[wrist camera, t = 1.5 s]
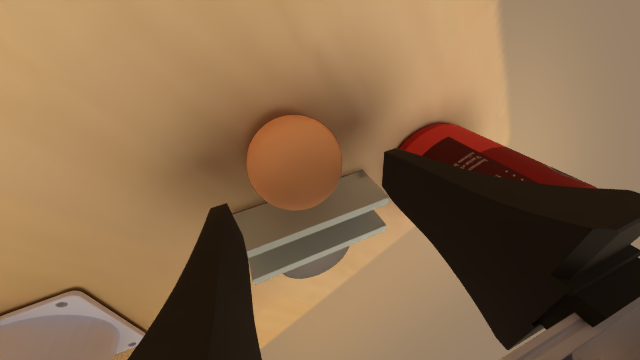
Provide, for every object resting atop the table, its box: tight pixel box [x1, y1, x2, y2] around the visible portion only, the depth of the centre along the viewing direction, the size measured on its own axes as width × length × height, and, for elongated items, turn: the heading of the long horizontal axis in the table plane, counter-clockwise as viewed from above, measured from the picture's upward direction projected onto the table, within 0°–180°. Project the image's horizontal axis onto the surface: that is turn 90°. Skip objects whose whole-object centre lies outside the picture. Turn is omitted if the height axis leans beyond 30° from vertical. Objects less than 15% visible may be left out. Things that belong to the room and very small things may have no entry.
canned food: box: [399, 123, 596, 188], centre depth 16 cm, size 8×8×11 cm
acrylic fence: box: [233, 170, 389, 285], centre depth 17 cm, size 10×3×4 cm, turn 98°
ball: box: [246, 115, 342, 210], centre depth 12 cm, size 5×5×5 cm
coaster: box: [283, 246, 349, 279], centre depth 21 cm, size 7×7×1 cm
